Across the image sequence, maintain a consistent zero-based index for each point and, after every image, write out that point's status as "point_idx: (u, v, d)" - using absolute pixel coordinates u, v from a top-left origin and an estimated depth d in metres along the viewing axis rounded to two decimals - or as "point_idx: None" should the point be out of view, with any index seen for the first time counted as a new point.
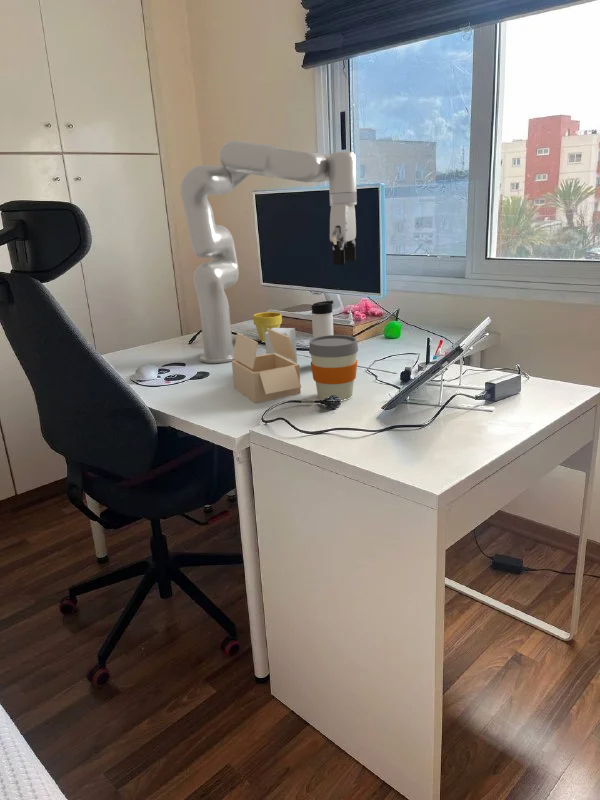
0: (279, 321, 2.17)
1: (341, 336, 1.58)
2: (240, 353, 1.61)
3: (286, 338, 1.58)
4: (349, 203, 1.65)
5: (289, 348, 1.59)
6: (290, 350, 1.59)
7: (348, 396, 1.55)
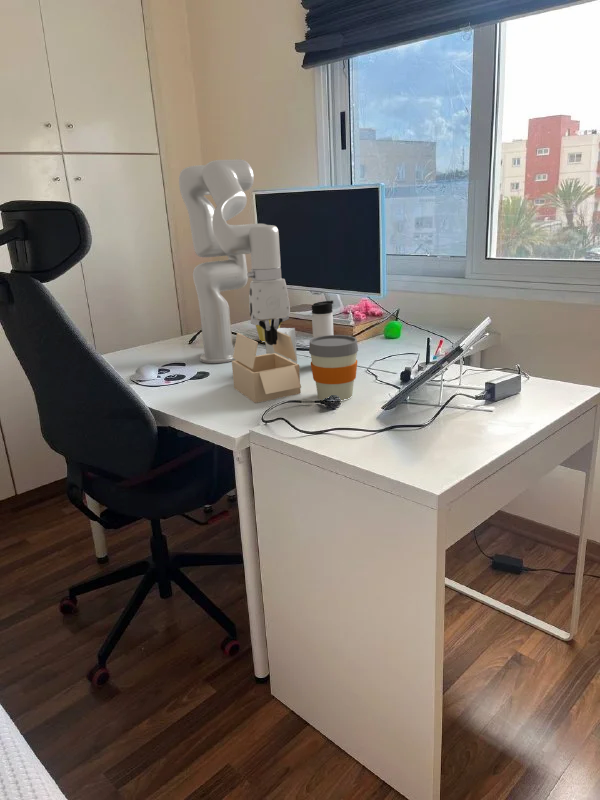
0: None
1: (341, 336, 1.58)
2: (240, 353, 1.61)
3: (287, 337, 1.58)
4: None
5: (290, 348, 1.59)
6: (291, 350, 1.59)
7: (348, 396, 1.55)
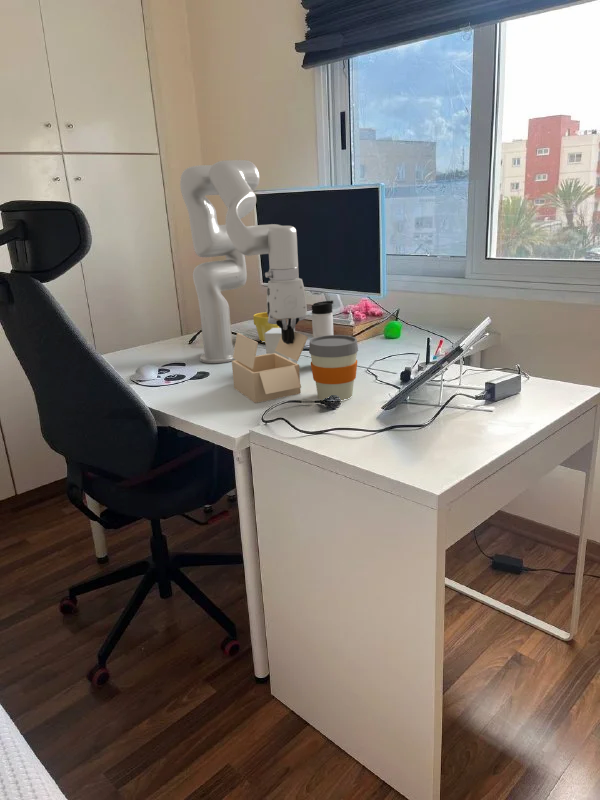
0: None
1: (341, 336, 1.58)
2: (240, 353, 1.61)
3: (304, 337, 1.60)
4: None
5: (299, 347, 1.60)
6: (298, 349, 1.60)
7: (348, 396, 1.55)
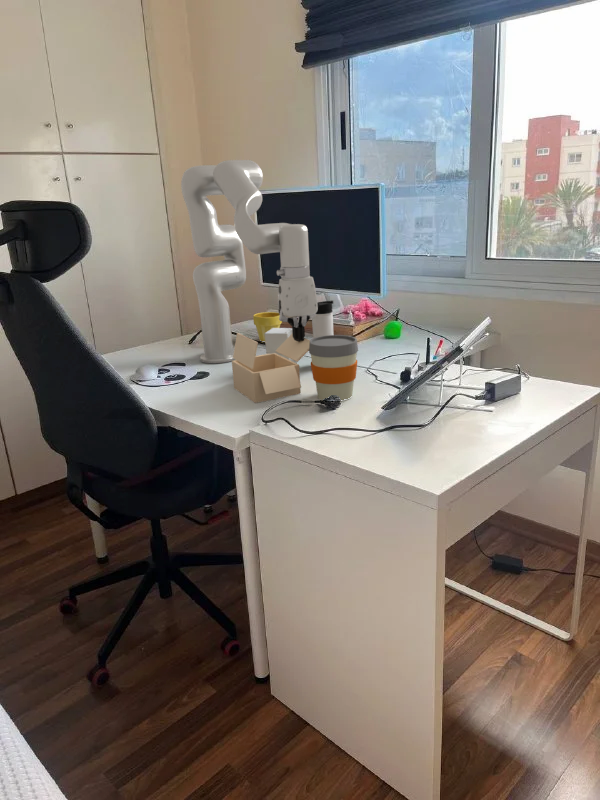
0: (279, 321, 2.17)
1: (341, 336, 1.58)
2: (240, 353, 1.61)
3: None
4: None
5: (303, 350, 1.61)
6: (302, 352, 1.61)
7: (348, 396, 1.55)
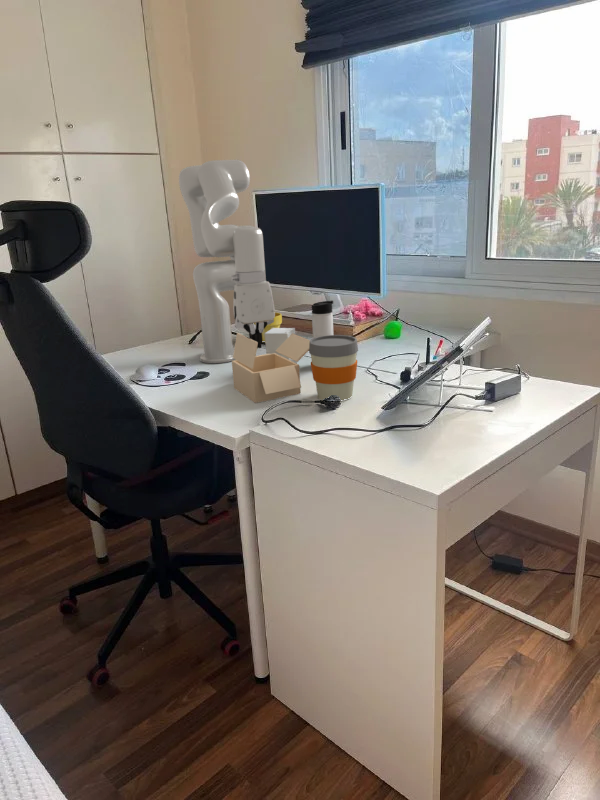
0: (279, 321, 2.17)
1: (341, 336, 1.58)
2: (240, 353, 1.61)
3: None
4: None
5: (303, 350, 1.61)
6: (302, 352, 1.61)
7: (348, 396, 1.55)
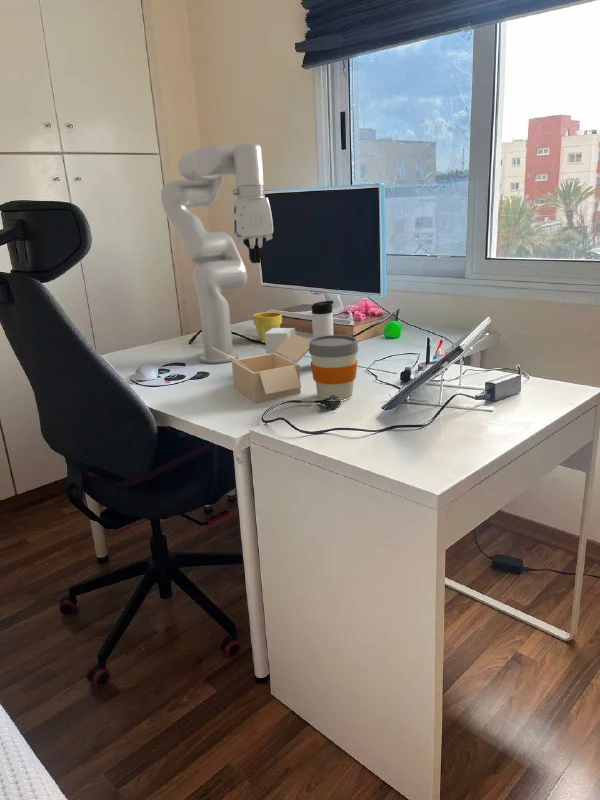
0: (279, 321, 2.17)
1: (341, 336, 1.58)
2: None
3: None
4: None
5: (303, 350, 1.61)
6: (302, 352, 1.61)
7: (348, 396, 1.55)
